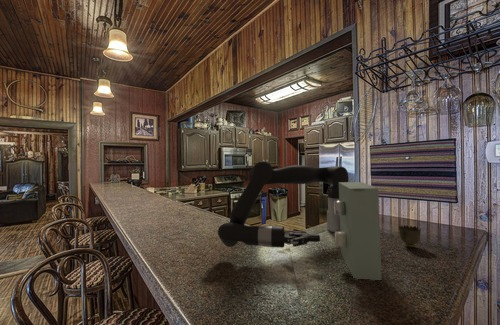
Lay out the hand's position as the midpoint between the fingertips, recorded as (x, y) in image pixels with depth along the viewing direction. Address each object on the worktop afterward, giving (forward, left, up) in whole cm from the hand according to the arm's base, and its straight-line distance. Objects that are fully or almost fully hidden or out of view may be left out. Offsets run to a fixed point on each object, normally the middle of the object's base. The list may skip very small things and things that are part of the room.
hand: (319, 238), depth 83 cm
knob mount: (+10, +8, -9) cm, 16 cm away
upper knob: (+7, +6, +8) cm, 12 cm away
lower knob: (+7, +6, -3) cm, 9 cm away
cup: (+16, +39, -9) cm, 43 cm away
